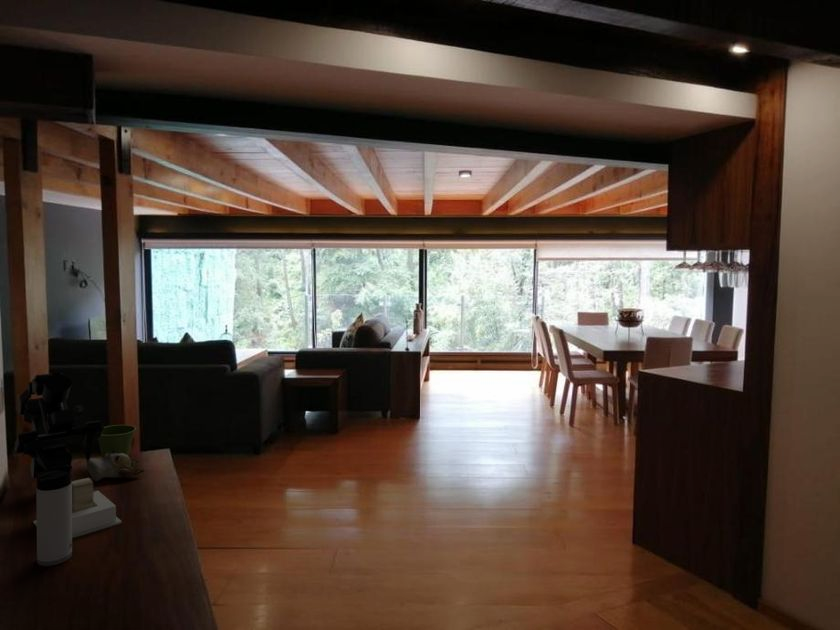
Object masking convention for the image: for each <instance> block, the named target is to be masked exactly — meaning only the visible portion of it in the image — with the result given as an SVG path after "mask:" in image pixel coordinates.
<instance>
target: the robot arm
mask: <svg viewBox="0 0 840 630" xmlns="http://www.w3.org/2000/svg"><path fill="white" fill-rule="evenodd" d="M71 387H73V386H72V380H71V379H70V378H69V377H68V376H66V375H64V373H63V372H61V371H51V373H44V374H36V375H35V376H34V377H33V379H31V381H29V382H27V389H26V390H25V391H23V392H22V394H21V395H20V396H19V401H18V414H19V416H21V418H22V420H23V422H25V423H28V424H31V428H32V430H30V431H24V432H19V434H18V435H17V436H16V439H15V442H14V450H15V453H16V454H23V455H24V456H25V455H27V456H29V457H31V461H30V466H29V467H30V475H31V477H32V479H37V475H38V474H39V473H41V472H43V471H45V470H47V469H50V468H54V467H60V466H64V465H70V466H72V460H73V454H72V453H71V451H70V449H69V450H68V448H67V445H66V443H65V440H64V439H70V438H74V437H75V438H76V437H80V436H81V438H82V447H83V453H84V456H85V459H86V460H87V461H89V459H91V455H92V453H91V452H92V446H93V443H94V442H96V440H98V438H99V437H100V435H101V433H102V431H103V429H104V427H105V425H104V423H103V422H102V421H101V420H94V421H93V420H92V421H88V422H84V425H83V426H82V427H81V428H74V427H75V426H76V422H77V421H78V419H82V418H84V416H85V410H84V407H83V404H80V405H74V407H72V408H68V405H67V402H66V401H67V400H68V398H69V394H70V391H71ZM33 395H35V396H41V397H35V398H32V396H33ZM87 461H86V462H87ZM36 492H37V490H36V491H35V493H36ZM35 500H36V501H37V499H36V498H35Z"/></svg>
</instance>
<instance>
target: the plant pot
mask: <svg viewBox="0 0 840 630" xmlns="http://www.w3.org/2000/svg"><path fill="white" fill-rule="evenodd" d="M136 430H137V426H135V425H131V424H116V425H115V424H114V425H107V426H104V429H103V431H102V433H101V435H100V437H99V438H98V439H97V441H98V445H99V450H100V456H101V458H103V457H104V456H105V455H106V454H107V453H109V452H111V451H115V452H116V453H124V454H126V455H128V456H130V452H131V447H132V442H133V438H134V435H135V431H136Z"/></svg>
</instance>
